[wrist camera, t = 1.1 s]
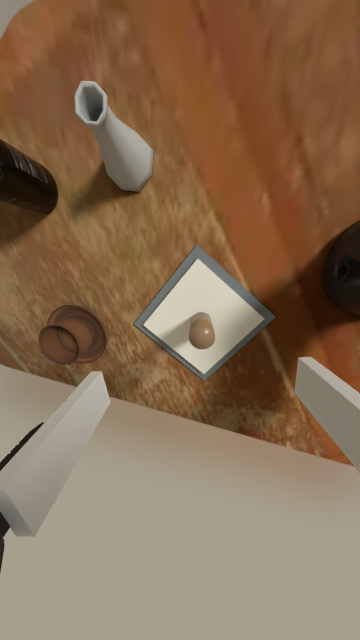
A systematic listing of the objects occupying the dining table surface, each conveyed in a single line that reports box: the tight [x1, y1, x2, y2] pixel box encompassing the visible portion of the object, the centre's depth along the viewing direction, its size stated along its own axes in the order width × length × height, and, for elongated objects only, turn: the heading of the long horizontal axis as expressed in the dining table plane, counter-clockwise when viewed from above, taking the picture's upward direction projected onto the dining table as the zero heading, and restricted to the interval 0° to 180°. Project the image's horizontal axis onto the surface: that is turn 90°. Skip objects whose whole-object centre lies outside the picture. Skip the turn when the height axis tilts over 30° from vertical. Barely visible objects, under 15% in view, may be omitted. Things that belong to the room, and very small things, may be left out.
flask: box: [74, 81, 153, 192], centre depth 21 cm, size 7×7×10 cm
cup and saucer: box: [39, 305, 107, 364], centre depth 32 cm, size 12×12×6 cm
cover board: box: [144, 259, 264, 374], centre depth 27 cm, size 15×15×8 cm
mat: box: [134, 245, 276, 381], centre depth 31 cm, size 18×18×1 cm
